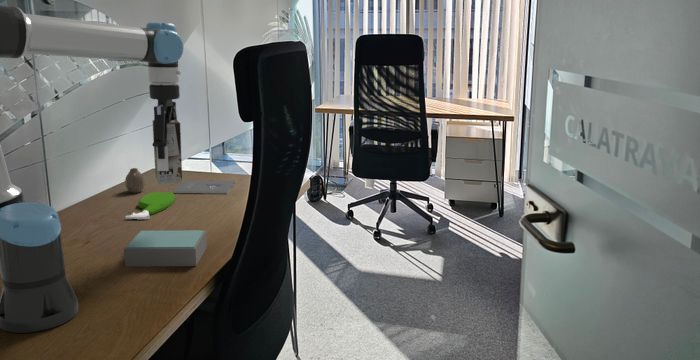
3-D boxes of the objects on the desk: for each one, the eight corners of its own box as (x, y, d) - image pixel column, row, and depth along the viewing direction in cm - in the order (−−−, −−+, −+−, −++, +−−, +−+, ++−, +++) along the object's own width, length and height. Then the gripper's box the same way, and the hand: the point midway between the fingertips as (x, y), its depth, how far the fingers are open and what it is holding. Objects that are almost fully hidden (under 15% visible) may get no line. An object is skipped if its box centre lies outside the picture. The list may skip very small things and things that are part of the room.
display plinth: (196, 266, 152) (195, 247, 151) (125, 266, 151) (123, 248, 150) (207, 246, 165) (206, 229, 164) (141, 247, 165) (140, 230, 164)
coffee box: (183, 183, 158) (180, 122, 154) (158, 184, 156) (155, 123, 152) (179, 175, 166) (176, 118, 163) (155, 177, 164) (151, 119, 160)
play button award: (184, 180, 235) (235, 180, 235) (185, 184, 235) (235, 184, 235) (173, 190, 219) (227, 191, 219) (173, 194, 219) (227, 195, 219)
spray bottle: (178, 200, 212) (155, 222, 188) (147, 199, 212) (121, 222, 188) (177, 192, 211) (154, 214, 187) (147, 191, 211) (120, 213, 188)
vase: (121, 193, 219) (119, 170, 217) (133, 188, 225) (131, 166, 223) (137, 194, 217) (136, 171, 215) (149, 190, 223) (147, 167, 221)
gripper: (168, 87, 144) (172, 175, 149) (187, 81, 166) (190, 158, 171) (136, 86, 144) (141, 175, 149) (160, 80, 166) (164, 158, 171)
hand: (168, 166), depth 160 cm, fingers closed on coffee box, 10 cm apart
